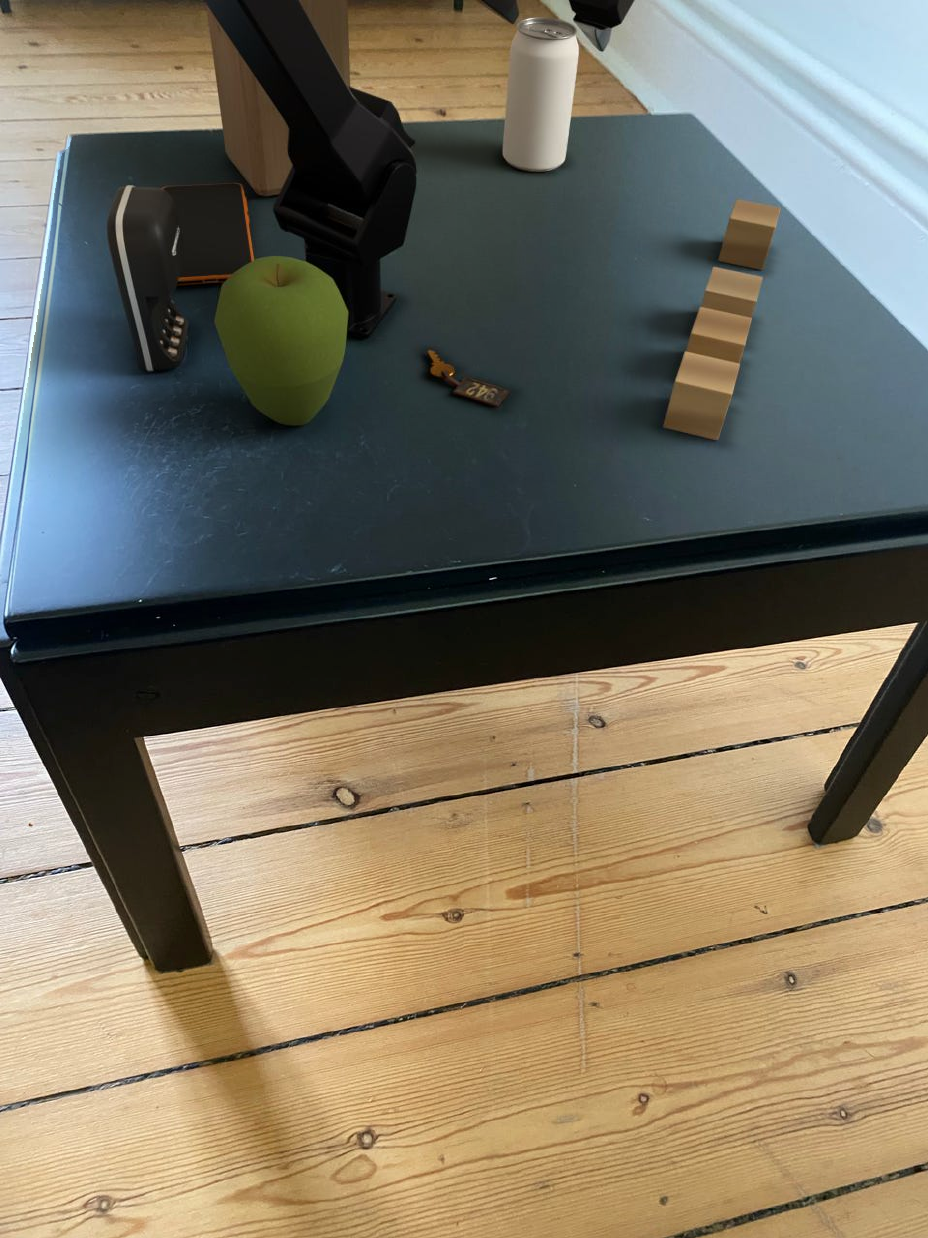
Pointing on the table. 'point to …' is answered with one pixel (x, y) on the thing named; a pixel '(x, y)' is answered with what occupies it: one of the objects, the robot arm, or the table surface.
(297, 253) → the table surface
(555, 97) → the can
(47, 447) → the table surface
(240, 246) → the smartphone
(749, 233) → the block
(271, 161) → the wooden block
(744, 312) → the block
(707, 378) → the block
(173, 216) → the battery charger
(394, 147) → the robot arm
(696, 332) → the block
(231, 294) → the apple
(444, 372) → the key tag
